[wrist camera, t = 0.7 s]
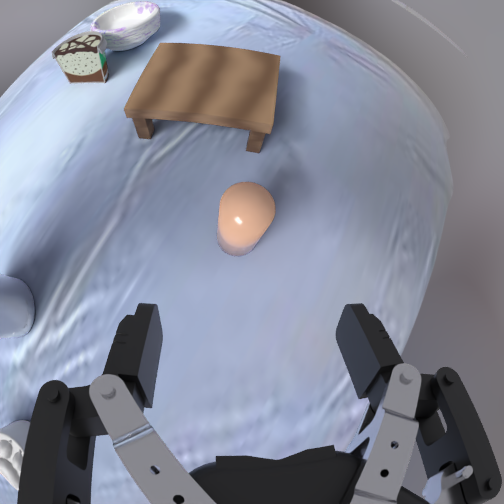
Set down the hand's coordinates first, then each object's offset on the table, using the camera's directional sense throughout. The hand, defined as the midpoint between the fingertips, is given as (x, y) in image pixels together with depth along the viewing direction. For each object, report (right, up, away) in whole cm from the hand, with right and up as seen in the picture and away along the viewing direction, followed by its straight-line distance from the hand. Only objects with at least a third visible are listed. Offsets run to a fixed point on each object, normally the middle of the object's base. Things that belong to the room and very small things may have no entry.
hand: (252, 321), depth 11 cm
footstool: (-7, +26, +29) cm, 40 cm away
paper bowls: (-28, +50, +32) cm, 65 cm away
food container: (-32, +39, +29) cm, 58 cm away
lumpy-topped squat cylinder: (-37, -30, +13) cm, 50 cm away
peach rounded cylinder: (-2, +5, +26) cm, 26 cm away
